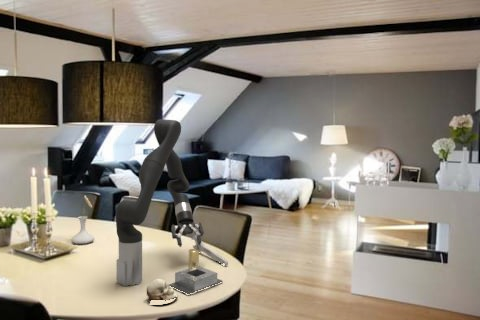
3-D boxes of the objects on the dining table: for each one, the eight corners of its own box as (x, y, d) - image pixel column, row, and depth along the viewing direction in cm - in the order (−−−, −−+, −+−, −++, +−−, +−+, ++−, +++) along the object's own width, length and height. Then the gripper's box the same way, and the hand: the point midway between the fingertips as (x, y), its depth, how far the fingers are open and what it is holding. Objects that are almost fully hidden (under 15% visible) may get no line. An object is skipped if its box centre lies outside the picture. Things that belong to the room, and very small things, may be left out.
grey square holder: (188, 296, 153) (188, 283, 152) (168, 286, 161) (169, 274, 160) (222, 283, 166) (222, 271, 165) (202, 275, 174) (203, 263, 173)
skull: (178, 288, 157) (178, 276, 149) (176, 315, 150) (176, 303, 142) (147, 288, 156) (145, 275, 148) (143, 314, 149) (141, 303, 141)
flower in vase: (89, 245, 211) (89, 198, 209) (67, 245, 211) (67, 197, 209) (98, 238, 224) (98, 194, 222) (78, 238, 224) (77, 193, 222)
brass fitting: (192, 275, 173) (193, 252, 173) (186, 272, 176) (186, 250, 176) (200, 272, 177) (200, 250, 176) (194, 270, 180) (194, 248, 179)
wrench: (224, 273, 185) (190, 249, 208) (227, 272, 186) (193, 248, 209) (225, 256, 184) (191, 234, 207) (229, 255, 185) (194, 233, 208)
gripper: (170, 210, 185) (175, 242, 176) (200, 209, 191) (207, 239, 181) (167, 219, 191) (173, 250, 181) (196, 217, 196) (203, 247, 186)
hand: (190, 245), depth 181 cm, fingers open, 8 cm apart
